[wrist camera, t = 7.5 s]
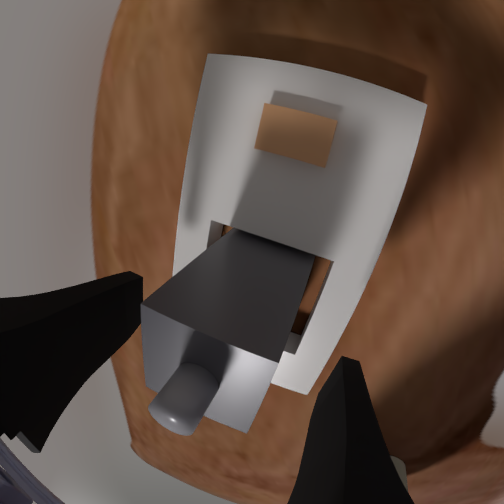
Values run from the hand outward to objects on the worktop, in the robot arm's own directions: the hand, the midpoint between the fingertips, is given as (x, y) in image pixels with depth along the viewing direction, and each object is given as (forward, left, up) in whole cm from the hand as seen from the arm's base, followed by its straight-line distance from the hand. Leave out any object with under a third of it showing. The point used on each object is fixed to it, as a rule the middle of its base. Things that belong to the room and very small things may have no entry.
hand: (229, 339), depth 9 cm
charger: (0, 0, -5) cm, 5 cm away
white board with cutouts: (-1, -1, -5) cm, 5 cm away
